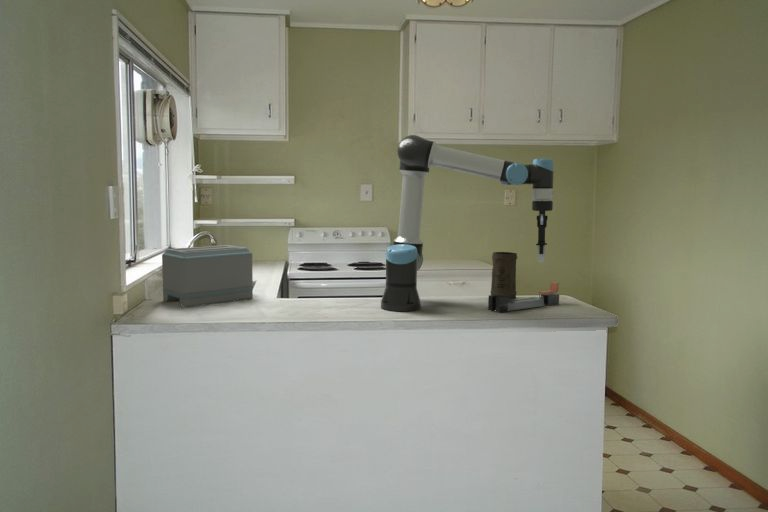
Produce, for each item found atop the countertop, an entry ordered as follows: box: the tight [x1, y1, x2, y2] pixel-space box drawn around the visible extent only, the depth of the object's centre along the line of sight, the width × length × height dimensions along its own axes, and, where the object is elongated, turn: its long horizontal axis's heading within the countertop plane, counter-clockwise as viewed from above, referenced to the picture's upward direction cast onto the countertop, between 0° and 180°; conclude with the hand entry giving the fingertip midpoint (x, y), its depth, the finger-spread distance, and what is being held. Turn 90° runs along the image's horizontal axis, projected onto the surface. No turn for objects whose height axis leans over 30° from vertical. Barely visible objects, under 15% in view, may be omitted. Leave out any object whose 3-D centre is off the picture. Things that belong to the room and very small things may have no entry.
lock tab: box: [538, 281, 560, 294], centre depth 249 cm, size 8×3×4 cm, turn 122°
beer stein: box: [490, 251, 518, 300], centre depth 257 cm, size 15×11×20 cm
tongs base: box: [487, 293, 560, 312], centre depth 243 cm, size 32×5×6 cm, turn 122°
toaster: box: [161, 244, 254, 309], centre depth 249 cm, size 19×33×20 cm, turn 135°
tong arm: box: [495, 296, 545, 313], centre depth 238 cm, size 23×2×5 cm, turn 124°
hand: (541, 262), depth 240 cm, fingers closed
